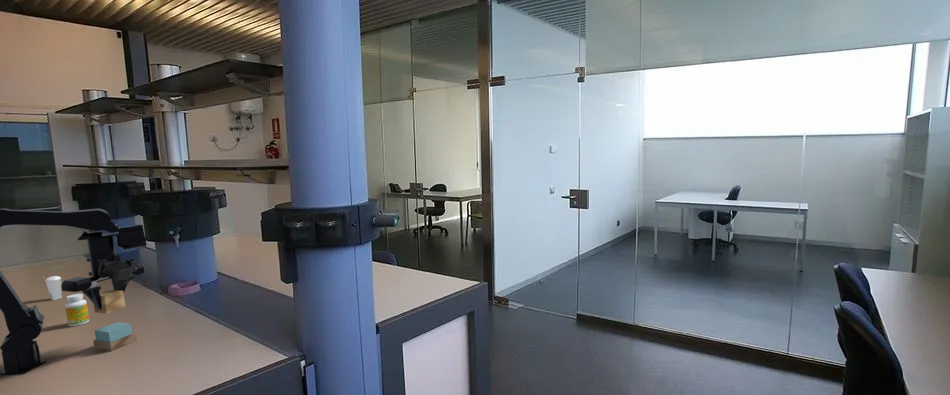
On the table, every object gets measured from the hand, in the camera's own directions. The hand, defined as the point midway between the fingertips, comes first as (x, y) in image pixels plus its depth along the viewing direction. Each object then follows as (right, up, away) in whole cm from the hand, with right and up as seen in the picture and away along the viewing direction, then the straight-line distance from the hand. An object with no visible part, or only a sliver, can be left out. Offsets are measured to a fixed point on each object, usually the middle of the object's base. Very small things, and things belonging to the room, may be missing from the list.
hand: (109, 305), depth 129 cm
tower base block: (+1, -12, +2) cm, 12 cm away
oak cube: (0, -1, 0) cm, 1 cm away
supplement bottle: (-27, -11, +20) cm, 36 cm away
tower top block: (+1, -9, +1) cm, 9 cm away
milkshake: (-62, -9, +49) cm, 80 cm away
